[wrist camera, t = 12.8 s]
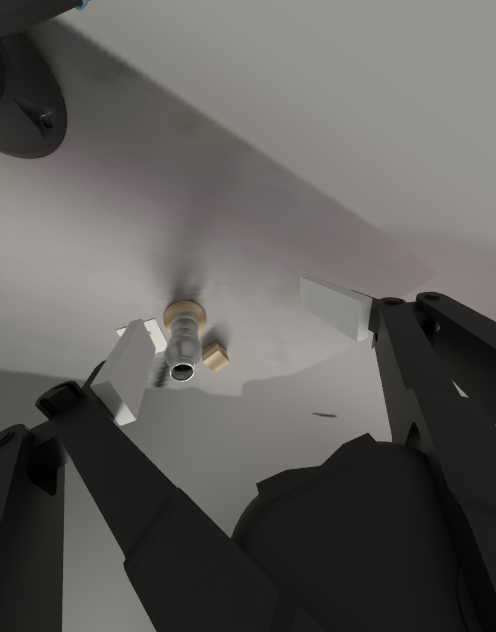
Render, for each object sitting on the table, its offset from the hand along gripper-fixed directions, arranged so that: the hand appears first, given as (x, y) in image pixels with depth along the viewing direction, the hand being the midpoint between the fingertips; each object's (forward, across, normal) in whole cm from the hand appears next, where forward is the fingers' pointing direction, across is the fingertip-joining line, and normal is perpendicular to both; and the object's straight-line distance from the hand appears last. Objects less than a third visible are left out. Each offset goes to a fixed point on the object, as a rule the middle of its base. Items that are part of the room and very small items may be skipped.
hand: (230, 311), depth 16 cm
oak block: (+32, -4, -25) cm, 41 cm away
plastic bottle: (+31, -8, -13) cm, 35 cm away
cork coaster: (+32, -8, -13) cm, 36 cm away
